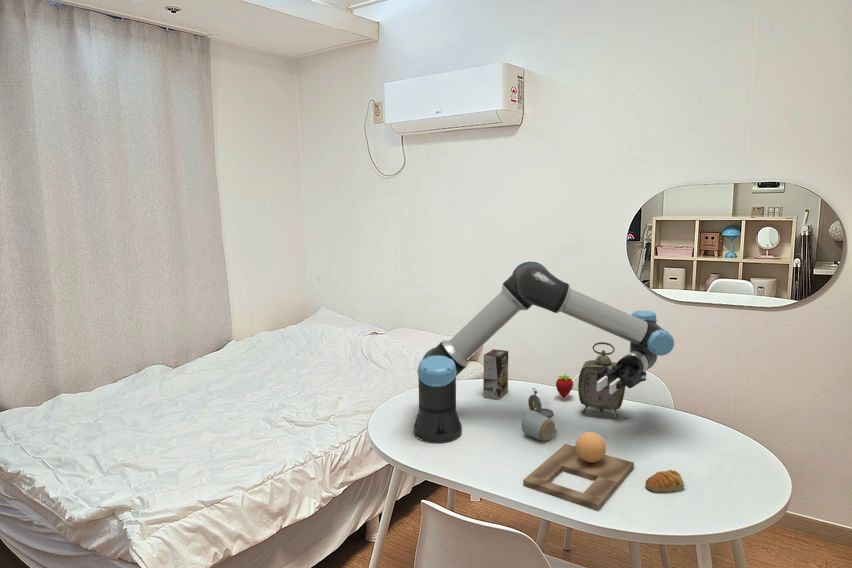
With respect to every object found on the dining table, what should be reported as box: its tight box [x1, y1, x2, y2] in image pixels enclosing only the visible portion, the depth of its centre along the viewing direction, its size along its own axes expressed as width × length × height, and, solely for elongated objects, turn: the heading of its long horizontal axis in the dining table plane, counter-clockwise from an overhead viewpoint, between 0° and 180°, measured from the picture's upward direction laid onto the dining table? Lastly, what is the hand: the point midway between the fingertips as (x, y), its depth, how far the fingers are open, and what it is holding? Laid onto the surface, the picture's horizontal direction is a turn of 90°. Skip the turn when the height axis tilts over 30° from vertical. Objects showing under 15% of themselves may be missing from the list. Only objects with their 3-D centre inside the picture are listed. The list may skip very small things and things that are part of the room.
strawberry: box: [555, 372, 574, 399], centre depth 209 cm, size 6×8×10 cm
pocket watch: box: [527, 388, 554, 418], centre depth 194 cm, size 8×8×10 cm
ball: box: [575, 431, 607, 463], centre depth 159 cm, size 8×8×8 cm
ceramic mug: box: [520, 409, 558, 442], centre depth 179 cm, size 11×8×8 cm
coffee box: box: [482, 348, 509, 400], centre depth 213 cm, size 9×6×16 cm
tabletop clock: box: [577, 341, 626, 420], centre depth 193 cm, size 14×9×25 cm, turn 67°
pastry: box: [644, 469, 685, 493], centre depth 148 cm, size 9×7×4 cm
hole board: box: [522, 443, 635, 511], centre depth 154 cm, size 20×26×2 cm
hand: (604, 387), depth 163 cm, fingers open, 3 cm apart
